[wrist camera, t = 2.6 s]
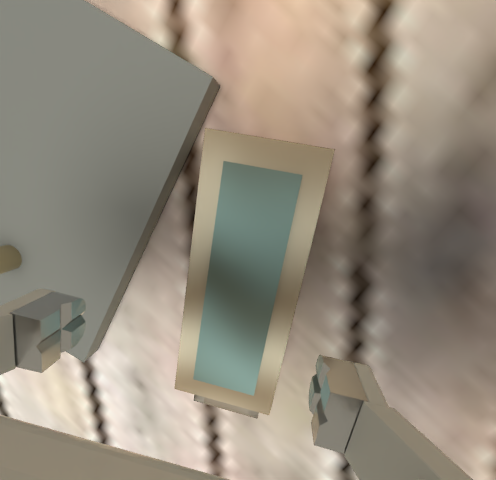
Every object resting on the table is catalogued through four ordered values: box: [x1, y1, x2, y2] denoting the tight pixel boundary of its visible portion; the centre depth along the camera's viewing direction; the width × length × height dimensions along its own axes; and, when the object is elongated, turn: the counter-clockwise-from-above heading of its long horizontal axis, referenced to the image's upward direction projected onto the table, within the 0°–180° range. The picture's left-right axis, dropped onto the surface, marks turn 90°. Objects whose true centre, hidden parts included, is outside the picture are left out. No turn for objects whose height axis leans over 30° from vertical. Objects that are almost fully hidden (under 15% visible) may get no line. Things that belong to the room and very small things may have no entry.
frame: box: [175, 128, 335, 418], centre depth 16 cm, size 19×6×5 cm, turn 170°
